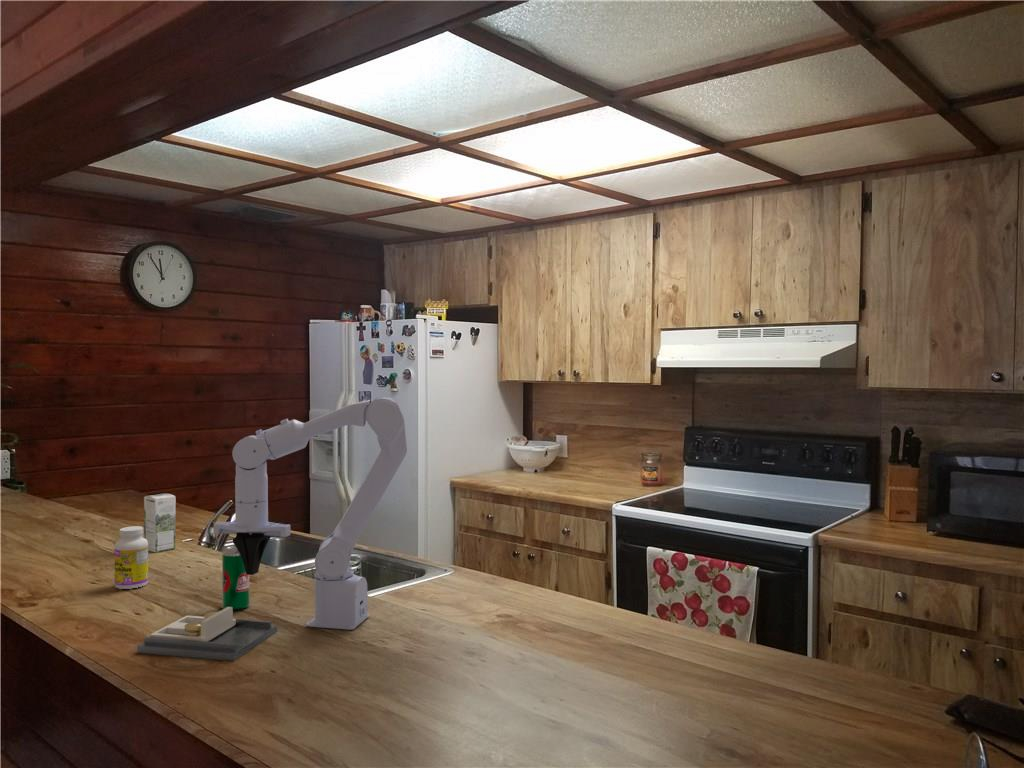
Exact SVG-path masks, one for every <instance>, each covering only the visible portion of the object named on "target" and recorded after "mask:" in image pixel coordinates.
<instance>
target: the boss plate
mask: <svg viewBox="0 0 1024 768" xmlns="http://www.w3.org/2000/svg"><path fill="white" fill-rule="evenodd" d="M217 612H219V610H218V611H217V610H216V611H210V612H207V613H205V614H204V615H203V616H202V615H200V617H204V619H206V618H208V617H210V616H212V615H214V614H215V613H217ZM186 616H190V614H189V615H186ZM235 619H236V625H234V626H233V627H231V628H229V629H228V630H226V631H224V632H223V633H221V634H219V635H218V636H216V637H214V638H213V639H211V640H209V641H195V640H183V639H170V638H157V637H150V636H145V637H144V638H143V642H142V643H139V644H138V645H137V646H136V652H137V654H145V655H157V656H158V655H159V656H167V657H168V656H170V657H180V658H181V657H183V658H193V659H194V658H195V659H207V660H216V661H217V660H218V661H227V660H229V661H230V662H235V661H236V660H238V659H239V658H241V657H242V656H244V655H245V654H246V653H248V652H249V651H251V650H252V649H255V647H257V646H258V645H260V644H261V643H262V642H265V640H267V639H268V638H270V637H272V636H273V635H274V634H276V633H277V632H278V625H277V624H272V621H271V620H257V619H243V618H241V619H239V618H235ZM185 631H186V632H188V633H189V635H187V636H200V635H201V622H191V623H188V624H186V625H185ZM166 634H171V633H166ZM174 635H184V634H174ZM240 656H241V657H240ZM237 658H238V659H237ZM234 660H235V661H234Z"/></svg>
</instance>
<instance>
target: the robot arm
mask: <svg viewBox="0 0 1024 768" xmlns="http://www.w3.org/2000/svg"><path fill="white" fill-rule="evenodd" d="M370 401H371V399H369V400H362V401H359V402H354V403H349V404H348V405H345V406H343V407H340V408H337V409H335V410H333V411H331V412H328V413H326V414H323V415H321V416H318V417H316V418H313V419H311V420H309V421H306V422H302V421H299V420H297V419H294V418H293V419H291V420H289V419H288V418H285V419H282V420H280V424H277V425H275V426H273V427H270V428H268V429H265V430H262V429H257V430H256V431H255V434H256V435H253V434H252V435H248V436H245V437H243V438H241V439H240V440H239V441H237V442H236V444H235V445H234V447H233V449H232V452H231V453H232V459H233V461H234V463H235V477H234V482H235V484H234V487H235V489H234V492H235V493H234V494H235V499H234V500H235V502H234V503H235V508H234V509H235V512H234V513H235V521H218V522H215V523H213V535H219V534H227V535H230V534H231V535H235V537H233V538H232V543H233V546H236V548H237V549H238V551H239V553H240V555H241V558H242V561H243V564H244V567H245V571H246V575H249V576H251V575H252V576H254V575H256V574H257V573H259V569H260V565H261V561H262V558H263V554H264V552H265V549H266V548H267V545H268V543H269V542H270V539H271V537H273V536H274V537H280V538H286V537H289V536H291V524H284V523H280V522H279V523H277V522H271V521H269V496H268V495H269V493H268V492H269V491H268V490H269V489H268V488H269V483H268V481H269V480H268V479H269V477H268V473H267V471H268V469H267V467H268V465H267V464H268V462H267V460H272V461H273V460H277V459H280V458H282V457H284V456H286V455H289V454H292V453H295V452H297V451H300V450H303V449H305V448H306V447H307V445H308V442H309V440H310V439H311V438H314V437H317V436H319V435H322V434H326V433H329V432H332V431H334V430H337V429H339V428H343V427H345V426H348V425H351V426H358V427H363V428H364V427H365V426H366V423H367V424H368V426H369V427H370V429H371V430H372V431H373V433H374V434H375V435H376V438H377V442H378V445H379V448H380V452H379V453H378V455H377V457H376V458H375V460H374V461H373V464H372V465H371V467H370V469H369V470H368V472H367V474H366V475H365V477H364V479H363V481H362V483H361V484H360V486H359V488H358V490H357V491H356V493H355V494H354V496H353V498H352V499H351V502H350V503H349V506H348V507H347V508H346V511H345V512H344V514H343V516H342V517H341V519H340V521H339V522H338V524H337V525H336V527H335V529H334V530H333V532H332V533H331V534H330V535H328V536H327V537H325V538H324V539H323V540H322V541H321V543H320V545H319V549H318V552H317V553H316V556H315V558H314V568H315V570H316V571H315V572H314V617H313V618H312V619H310V620H309V621H307V622H306V623H305V626H306V627H310V628H322V629H323V628H324V629H337V630H348V631H349V630H355V629H356V628H357V627H358V626H359V625H360V624H362V622H364V621H365V620H366V619H367V618H369V617H370V614H369V613H368V610H369V609H368V582H367V579H366V577H364V576H359V575H357V574H354V569H353V568H352V567H351V565H350V563H351V557H352V552H353V550H354V548H355V547H356V545H357V543H358V540H359V539H360V537H361V536H360V535H361V534H362V532H363V531H364V529H365V527H366V526H367V524H368V522H369V520H370V518H371V516H372V515H373V514H374V511H375V510H376V507H377V506H378V505H379V502H381V501H380V500H381V499H382V497H383V496H384V494H385V492H386V491H387V489H388V487H389V486H390V483H391V482H392V480H393V478H394V477H395V475H396V473H397V472H398V469H399V468H400V466H401V464H402V462H403V461H404V459H405V458H406V456H407V451H408V448H407V438H406V437H407V436H406V435H407V434H406V426H405V419H404V418H405V417H404V415H403V413H402V410H401V408H400V407H399V404H398V403H397V402H396V400H395V399H393V398H391V397H389V396H377V397H376V398H374V399H373V400H372V401H371V402H370Z"/></svg>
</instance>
